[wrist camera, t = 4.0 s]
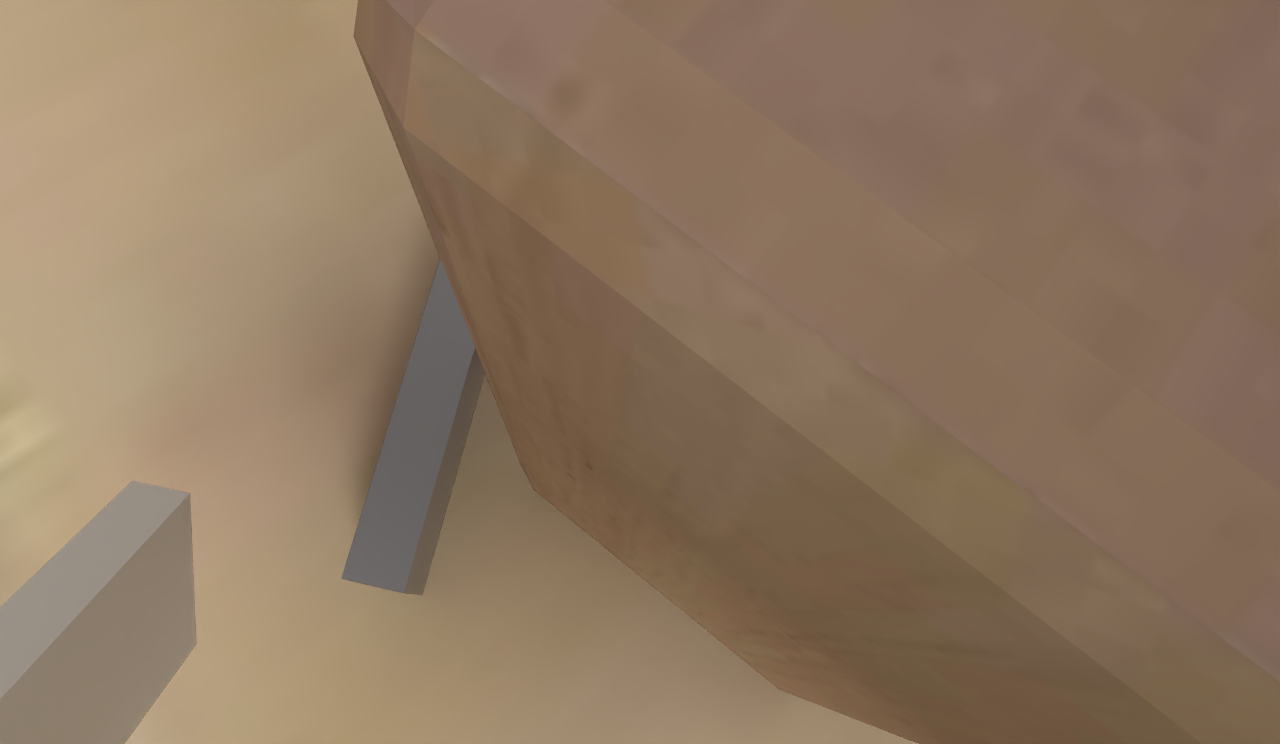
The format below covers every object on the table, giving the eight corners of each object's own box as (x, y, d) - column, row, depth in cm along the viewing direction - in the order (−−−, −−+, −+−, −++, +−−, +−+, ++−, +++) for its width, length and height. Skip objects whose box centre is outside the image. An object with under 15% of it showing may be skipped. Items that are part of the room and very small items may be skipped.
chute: (1071, 746, 23) (1128, 762, 21) (366, 582, 23) (341, 578, 21) (1106, 324, 27) (1159, 295, 24) (487, 178, 26) (478, 134, 24)
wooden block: (725, 213, 27) (1110, -822, 7) (1000, 419, 26) (2297, -167, 6) (507, 471, 24) (233, -71, 5) (801, 711, 23) (1923, 1212, 4)
